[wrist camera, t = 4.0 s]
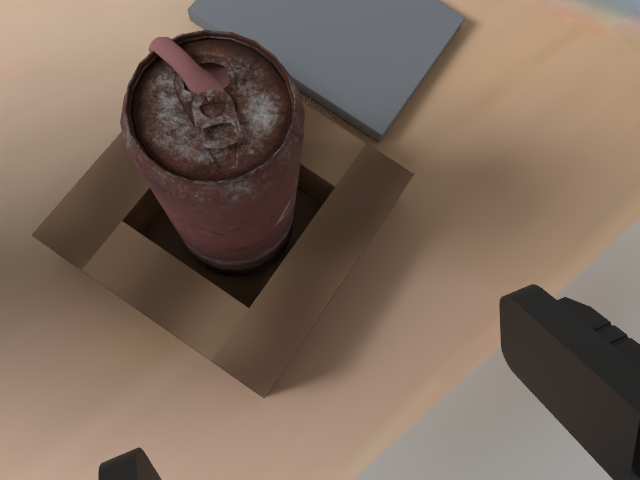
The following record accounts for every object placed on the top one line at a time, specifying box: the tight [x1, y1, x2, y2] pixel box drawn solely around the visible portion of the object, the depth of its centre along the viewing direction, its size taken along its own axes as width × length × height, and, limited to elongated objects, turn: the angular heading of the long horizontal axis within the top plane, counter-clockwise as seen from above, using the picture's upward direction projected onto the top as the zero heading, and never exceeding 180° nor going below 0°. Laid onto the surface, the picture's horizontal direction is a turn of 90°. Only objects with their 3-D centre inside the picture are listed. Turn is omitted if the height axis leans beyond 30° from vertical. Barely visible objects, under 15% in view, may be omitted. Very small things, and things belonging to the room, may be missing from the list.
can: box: [120, 30, 305, 276], centre depth 24 cm, size 6×6×14 cm
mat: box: [188, 0, 465, 142], centre depth 34 cm, size 14×10×1 cm
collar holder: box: [32, 103, 414, 398], centre depth 29 cm, size 14×14×4 cm
